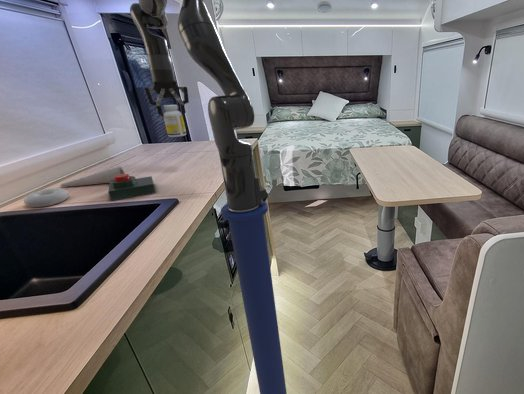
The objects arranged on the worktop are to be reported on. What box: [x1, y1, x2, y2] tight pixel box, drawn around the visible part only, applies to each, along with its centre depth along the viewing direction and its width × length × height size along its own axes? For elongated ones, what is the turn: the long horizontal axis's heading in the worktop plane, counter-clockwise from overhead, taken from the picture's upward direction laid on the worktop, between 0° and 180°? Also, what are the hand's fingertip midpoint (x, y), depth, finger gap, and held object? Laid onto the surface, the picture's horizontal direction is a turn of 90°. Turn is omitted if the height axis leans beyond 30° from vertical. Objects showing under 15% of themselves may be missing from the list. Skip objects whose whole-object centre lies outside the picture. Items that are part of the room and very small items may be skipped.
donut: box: [23, 187, 69, 208], centre depth 90 cm, size 10×4×10 cm
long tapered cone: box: [59, 165, 126, 188], centre depth 104 cm, size 6×6×19 cm
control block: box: [107, 175, 156, 202], centre depth 98 cm, size 12×10×5 cm
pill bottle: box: [162, 104, 187, 138], centre depth 113 cm, size 6×6×12 cm
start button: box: [114, 173, 130, 182], centre depth 96 cm, size 4×4×2 cm
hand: (172, 115), depth 112 cm, fingers closed on pill bottle, 6 cm apart
